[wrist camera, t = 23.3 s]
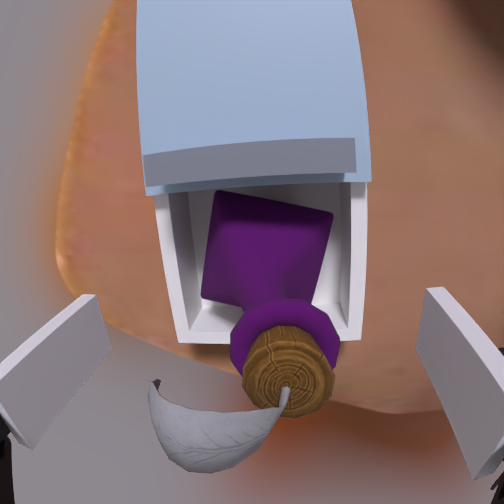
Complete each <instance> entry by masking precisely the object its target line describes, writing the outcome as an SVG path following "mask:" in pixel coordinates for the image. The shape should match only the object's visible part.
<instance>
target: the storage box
mask: <svg viewBox="0 0 504 504" xmlns="http://www.w3.org/2000/svg"><path fill="white" fill-rule="evenodd" d="M216 190H223V191H228V192H234V193H239V194H245V195H250V196H255V197H260V198H266V199H271V200H276V201H281V202H286V203H291V204H295V205H300V206H305V207H310V208H314V209H319V210H323V211H328V212H331V213H333V215H334V219H333V223H332V227H331V231H330V235H329V239H328V243H327V247H326V251H325V255H324V259H323V263H322V267H321V271H320V274H319V278H318V282H317V285H316V289H315V293H314V296H313V300H312V303H311V304H312V305H313V306H315V307H317V308H318V309H320V310H322V311H324V312H325V313H327V314H328V316H329V317H330V319H331V321H332V323H333V325H334V327H335V329H336V331H337V333H338V335H339V337H340V341H349V340H361V332H362V321H363V309H364V295H365V278H366V255H367V182H333V183H304V184H282V185H264V186H249V187H235V188H222V189H210V190H199V191H188V192H178V193H168V194H159V195H154V203H155V211H156V218H157V225H158V232H159V239H160V246H161V252H162V258H163V264H164V270H165V276H166V282H167V287H168V293H169V298H170V303H171V308H172V313H173V318H174V323H175V328H176V333H177V337H178V342H179V343H206V344H230V333H231V331H232V329H233V328H234V326H235V325H236V324H237V322H238V321H239V319H240V318H241V317H242V315H243V314H244V311H243V309H242V308H241V307H238V306H233V305H228V304H224V303H219V302H215V301H210V300H206V299H203V298H201V295H200V293H201V284H202V277H203V269H204V261H205V254H206V246H207V239H208V232H209V225H210V218H211V211H212V205H213V198H214V193H215V191H216Z"/></svg>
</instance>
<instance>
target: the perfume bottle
mask: <svg viewBox="0 0 504 504" xmlns="http://www.w3.org/2000/svg"><path fill="white" fill-rule="evenodd" d="M333 219H334V215H333V213H331V212H328V211H323V210H319V209H314V208H310V207H305V206H300V205H295V204H291V203H286V202H281V201H276V200H271V199H266V198H260V197H255V196H250V195H245V194H239V193H234V192H228V191H223V190H216V191H215V193H214V198H213V205H212V211H211V218H210V225H209V232H208V239H207V246H206V254H205V261H204V269H203V277H202V284H201V293H200V295H201V298H203V299H206V300H210V301H215V302H219V303H224V304H228V305H233V306H238V307H241V308H242V309H243V311H244V314H243V315H242V317H241V318H240V319H239V321H238V322H237V324H236V325H235V326H234V328H233V329H232V331H231V333H230V358H231V361H232V363H233V364H234V366H235V367H236V369H237V370H238V372H239V373H240V374H241V376H242V377H243V384H242V386H243V388H244V390H245V392H246V393H247V395H248V396H249V398H250V399H251V401H252V402H253V404H254V405H256V406H258V407H259V408H261V409H259V410H252V411H241V412H217V411H205V410H194V409H190V408H187V407H183V406H180V405H177V404H174V403H171V402H169V401H167V400H166V399H165V398H163V397H162V396H161V395H160V394H159V392H158V388H159V385H160V382H161V381H160V380H159V379H155V380H153V381H151V382H150V387H149V392H148V401H149V407H150V414H151V420H152V423H153V426H154V429H155V431H156V434H157V436H158V439H159V441H160V444H161V445H162V447H163V449H164V451H165V452H166V454H167V456H168V458H169V459H170V460H171V461H173V462H174V463H176V464H177V465H179V466H180V467H182V468H183V469H185V470H186V471H188V472H198V473H214V472H218V471H222V470H225V469H229V468H232V467H234V466H235V465H237V464H238V463H240V462H241V461H243V460H244V459H245V458H247V457H248V456H250V455H251V454H253V453H254V452H255V451H257V450H258V449H259V447H260V446H261V444H262V442H263V441H264V440H265V438H266V436H267V435H268V433H269V432H270V430H271V429H272V427H273V425H274V424H275V422H276V421H277V419H278V418H279V416H282V417H291V418H297V417H300V416H303V415H306V414H309V413H311V412H315V411H317V410H318V409H319V408H320V407H321V406H322V405H323V404H324V403H325V402H326V401H327V400H328V399H329V398H330V397H331V396H332V391H333V386H334V380H335V374H334V372H333V369H334V368H335V366H336V361H337V356H338V350H339V345H340V337H339V335H338V333H337V331H336V329H335V327H334V325H333V323H332V321H331V319H330V317H329V316H328V314H327V313H325V312H324V311H322V310H320V309H318V308H317V307H315V306H313V305H312V304H311V303H312V300H313V296H314V293H315V289H316V285H317V282H318V278H319V274H320V271H321V267H322V263H323V259H324V255H325V251H326V247H327V243H328V239H329V235H330V231H331V227H332V223H333Z"/></svg>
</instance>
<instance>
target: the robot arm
mask: <svg viewBox="0 0 504 504" xmlns="http://www.w3.org/2000/svg"><path fill="white" fill-rule="evenodd" d="M111 350H112V346H111V343H110V340H109V337H108V333H107V330H106V327H105V324H104V320H103V317H102V314H101V310H100V307H99V303H98V300H97V296H96V295H88V294H83V295H81V296H80V297H79V298H78V299H76V300H75V301H74V302H73V303H71V304H70V305H69V306H68V307H66V308H65V309H64V310H63V311H61V312H60V313H59V314H58V315H56V316H55V317H54V318H53V319H51V320H50V321H49V322H48V323H47V324H46V325H44V326H43V327H42V328H41V329H39V331H37V332H36V333H35V334H33V335H32V336H31V337H30V338H29V339H28V340H26V341H25V342H24V343H23V344H22V345H21V346H19V347H18V348H17V349H16V350H15V351H14V352H13V353H11V354H10V355H9V356H8V357H7V358H6V359H5V360H4V361H2V362H1V363H0V504H15V502H14V491H13V479H12V459H11V458H12V457H11V456H12V455H11V441H10V439H9V438H8V436H7V435H8V434H9V433H10V432H11V433H12V434H13V435H14V437H15V438H16V439H17V441H18V442H19V443H20V444H22V445H24V446H26V447H28V448H30V449H32V450H33V449H34V448H35V446H36V445H37V444H38V442H39V441H40V440H41V438H42V437H43V436H44V434H45V433H46V432H47V430H48V429H49V428H50V426H51V425H52V424H53V423H54V421H55V420H56V419H57V417H58V416H59V415H60V414H61V412H62V411H63V410H64V408H65V407H66V406H67V405H68V403H69V402H70V400H72V398H73V397H74V396H75V394H76V393H77V392H78V391H79V389H80V388H81V387H82V386H83V384H84V383H85V382H86V381H87V379H88V378H89V377H90V376H91V375H92V373H93V372H94V371H95V370H96V368H97V367H98V366H99V365H100V364H101V362H102V361H103V360H104V359H105V357H106V356H107V355H108V354H109V353H110V351H111ZM415 350H416V352H417V354H418V356H419V358H420V360H421V362H422V364H423V366H424V368H425V370H426V372H427V374H428V376H429V378H430V380H431V383H432V385H433V387H434V389H435V391H436V393H437V395H438V398H439V400H440V402H441V404H442V406H443V409H444V411H445V413H446V415H447V418H448V420H449V422H450V424H451V427H452V429H453V432H454V434H455V437H456V439H457V441H458V444H459V446H460V449H461V451H462V454H463V457H464V459H465V462H466V464H467V467H468V470H469V473H470V475H471V478H472V480H474V479H477V478H480V477H483V476H485V475H488V474H491V473H493V472H494V471H495V470H496V469H497V467H498V466H499V465H500V463H501V462H502V461H504V348H503V347H502V348H498V349H497V347H496V346H495V345H494V344H493V342H492V341H491V340H490V339H489V338H488V336H487V335H486V334H485V333H484V332H483V331H482V329H481V328H480V327H479V326H478V325H477V324H476V322H475V321H474V320H473V319H472V318H471V317H470V316H469V314H468V313H467V312H466V311H465V310H464V309H463V308H462V307H461V305H460V304H459V303H458V302H457V301H456V300H455V299H454V298H453V297H452V296H451V295H450V294H449V292H448V291H447V290H446V289H445V288H444V287H434V288H426V292H425V298H424V305H423V311H422V317H421V322H420V328H419V333H418V338H417V343H416V347H415ZM497 485H498V487H497V490H496V493H495V495H494V498H493V500H492V502H491V504H504V472H503V473H502V474H501V475H500V477H499V478H498V479H497V480H496V481H495V483H494V484H493V485H492V487H491V490H493V489H494V488H495V487H496V486H497Z"/></svg>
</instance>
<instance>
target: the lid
mask: <svg viewBox="0 0 504 504" xmlns="http://www.w3.org/2000/svg"><path fill="white" fill-rule="evenodd" d="M136 60H137V94H138V113H139V128H140V141H141V153H142V163H143V173H144V182H145V191H146V196H151V195H159V194H168V193H178V192H188V191H199V190H210V189H222V188H235V187H249V186H264V185H282V184H304V183H333V182H371V157H370V139H369V125H368V113H367V102H366V93H365V84H364V76H363V68H362V61H361V54H360V47H359V41H358V35H357V29H356V24H355V19H354V13H353V8H352V4H351V0H137V28H136Z"/></svg>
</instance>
